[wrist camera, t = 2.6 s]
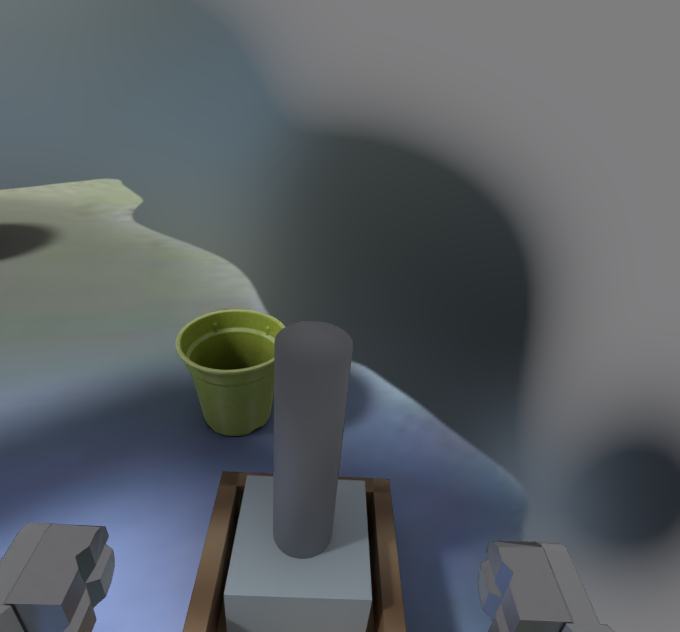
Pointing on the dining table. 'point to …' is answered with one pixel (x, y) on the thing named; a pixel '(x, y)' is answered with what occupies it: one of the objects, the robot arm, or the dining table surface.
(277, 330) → the plant pot
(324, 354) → the gray post
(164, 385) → the dining table surface
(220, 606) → the bay
